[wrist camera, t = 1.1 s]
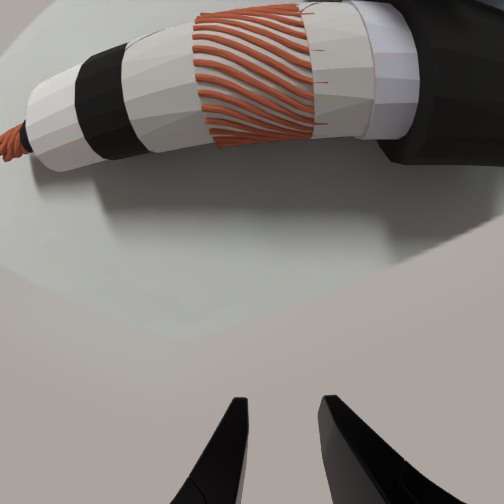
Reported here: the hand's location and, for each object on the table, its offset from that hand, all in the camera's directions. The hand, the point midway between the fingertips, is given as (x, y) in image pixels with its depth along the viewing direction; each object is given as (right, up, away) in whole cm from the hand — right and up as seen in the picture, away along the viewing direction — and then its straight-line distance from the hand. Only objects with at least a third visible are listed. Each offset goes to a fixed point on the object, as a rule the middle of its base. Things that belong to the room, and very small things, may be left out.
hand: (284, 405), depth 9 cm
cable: (-1, +15, +9) cm, 17 cm away
